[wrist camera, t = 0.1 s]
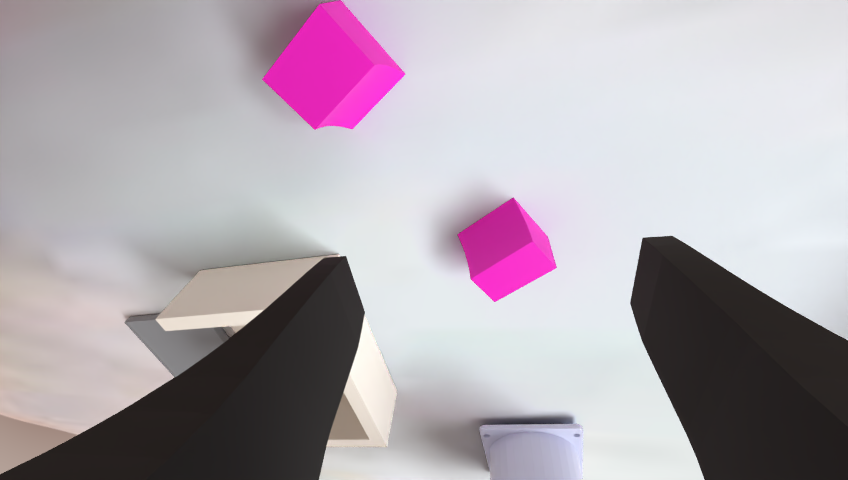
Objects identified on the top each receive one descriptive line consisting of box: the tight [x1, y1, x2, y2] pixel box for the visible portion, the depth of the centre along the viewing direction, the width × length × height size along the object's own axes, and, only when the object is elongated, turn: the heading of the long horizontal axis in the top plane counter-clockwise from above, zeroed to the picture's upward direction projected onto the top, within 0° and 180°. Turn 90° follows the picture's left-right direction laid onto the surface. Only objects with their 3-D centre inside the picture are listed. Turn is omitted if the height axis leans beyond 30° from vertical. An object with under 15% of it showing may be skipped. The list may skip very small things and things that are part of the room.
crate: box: [155, 254, 397, 447], centre depth 26 cm, size 14×10×4 cm
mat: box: [125, 314, 229, 377], centre depth 31 cm, size 9×7×1 cm
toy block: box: [262, 0, 557, 302], centre depth 21 cm, size 15×6×8 cm, turn 43°
